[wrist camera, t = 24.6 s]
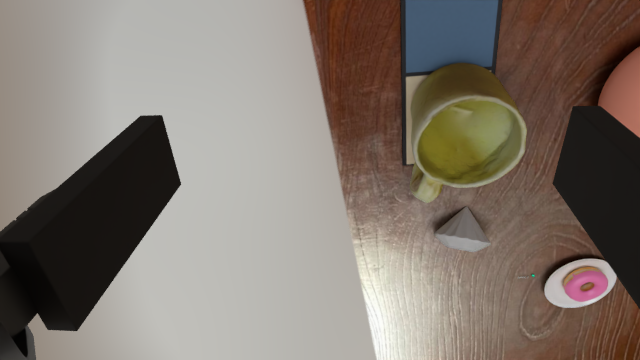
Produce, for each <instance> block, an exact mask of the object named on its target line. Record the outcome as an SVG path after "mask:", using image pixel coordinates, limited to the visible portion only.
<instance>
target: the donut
mask: <svg viewBox="0 0 640 360" xmlns="http://www.w3.org/2000/svg"><path fill="white" fill-rule="evenodd" d="M534 276H535V275H534V274H532V277H534ZM522 277H523V276H522ZM524 277H525V276H524ZM527 277H528V276H527ZM520 278H521V277H520ZM525 278H526V277H525ZM528 278H529V277H528ZM518 279H519V277H518ZM615 281H616V274H615V273H614V271H613V270H612V268H611V267H610V265H609V264H608V263H607V262H606V261H604V260H600V259H581V260H577V261H574V262H571V263H568V264H566V265H564V266H562V267H561V268H559V269H558V270H556V271H555V272H554V273H553V274H552V275H551V276H550V277H549V279H548V280H547V282H546V284H545V288H544V292H545V296H546V298H547V299H548V300H549V301H550V302H551V303H552V304H554V305H556V306H559V307H564V308H576V307H581V306H585V305H589V304H591V303H593V302H596V301H598V300H599V299H601V298H602V297H604V296H605V295H606V294H607V293H608V292H609V291H610V290H611V289H612V288H613V286H614V284H615Z"/></svg>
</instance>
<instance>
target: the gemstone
mask: <svg viewBox="0 0 640 360" xmlns="http://www.w3.org/2000/svg"><path fill="white" fill-rule="evenodd" d="M434 235H435V237H436V238H437V239H438V240H439V241H440V242H441V243H442V244H444V245H445V246H446V247H448V248H453V249H458V250H464V251H470V252H476V251H479V250H481V249H483V248H485V247H488V246H489V245H491V243H490V241H489V240H488V238H487V237H486V235H485V234H484V232H483V231H482V229H481V227H480V226H479V224H478V223H477V221H476V220H475V218H474V216H473V215H472V213H471V212H470V210H469V209H468V207H467V206H466V207H465V208H464V209H462V210H461V211H460V212H459V213H458V214H456V215H455V216H454V217H453V218H452V219H450V220H449V221H448V222H447V223H446V224H444V225H443V226H442V227H441V228H440V229H438V230H437V231H436V232H435V233H434Z"/></svg>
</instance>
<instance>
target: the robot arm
mask: <svg viewBox="0 0 640 360" xmlns="http://www.w3.org/2000/svg"><path fill="white" fill-rule="evenodd" d="M180 185H181V182H180V179H179V175H178V171H177V168H176V164H175V160H174V157H173V153H172V150H171V146H170V143H169V139H168V135H167V132H166V128H165V124H164V121H163V117H162V116H161V115H157V116H156V115H154V116H140V117H139V118H138V119H137V120H135V121H134V122H133V123H132V124H131V125H129V126H128V127H127V128H126V129H125V130H124V131H123V132H121V133H120V134H119V135H118V136H117V137H116V138H114V139H113V140H112V141H111V142H110V143H109V144H108V145H106V146H105V147H104V148H103V149H102V150H101V151H99V152H98V153H97V154H96V155H95V156H94V157H92V158H91V159H90V160H89V161H88V162H87V163H85V164H84V165H83V166H82V167H81V168H80V169H79V170H77V171H76V172H75V173H74V174H73V175H72V176H71V177H69V178H68V179H67V180H66V181H65V182H64V183H62V184H61V185H60V186H59V187H58V188H56V189H55V190H53V191H51V192H49V193H47V194H46V195H44V196H42V197H40V198H39V199H38V200H37V201H36V202H35V203H33V204H32V205H31V206H30V207H29V208H28V210H27V211H24V212H23V213H22V214H21V215H19V216H18V217H17V218H16V219H17V220H16V221H15V220H14V221H12V222H11V223H10V224H9V225H8V226H6V227H5V228H4V229H3V230H2V231H0V360H36V355H35V346H34V338H33V334H32V333H31V331H30V329H29V327H28V326H27V325H28V323H29V322H30V321H31V320H32V319H33V318H34V316H35V315H36V314H37V313H38V314H39V316H40V318H41V319H42V321H43V322H44V324H45V326H46V328H47V329H48V330H65V331H77V330H78V329H79V327H80V326H81V325H82V323H83V322H84V320H85V319H86V317H87V316H88V315H89V313H90V312H91V311H92V309H93V308H94V306H95V305H96V303H97V302H98V300H99V299H100V298H101V296H102V295H103V294H104V292H105V291H106V289H107V288H108V287H109V285H110V284H111V282H112V281H113V279H114V278H115V276H116V275H117V274H118V272H119V271H120V270H121V268H122V267H123V265H124V264H125V262H126V261H127V260H128V258H129V257H130V255H131V254H132V253H133V251H134V250H135V248H136V247H137V245H138V244H139V243H140V241H141V240H142V238H143V237H144V236H145V234H146V233H147V231H148V230H149V229H150V227H151V226H152V224H153V223H154V222H155V220H156V219H157V217H158V216H159V214H160V213H161V212H162V210H163V209H164V207H165V206H166V205H167V203H168V202H169V200H170V199H171V198H172V196H173V195H174V193H175V192H176V190H177V189H178V188H179V186H180ZM553 185H554V186H555V188H556V189H557V190H558V192H559V193H560V195H561V196H562V198H563V199H564V201H565V202H566V203H567V205H568V206H569V208H570V209H571V211H572V212H573V213H574V215H575V216H576V218H577V219H578V221H579V222H580V224H581V225H582V226H583V228H584V229H585V231H586V232H587V234H588V235H589V237H590V238H591V239H592V241H593V242H594V244H595V245H596V247H597V248H598V250H599V251H600V252H601V254H602V255H603V257H604V258H605V260H606V261H607V263H608V264H609V265H610V267H611V268H612V270H613V271H614V273H615V274H616V275H617V277H618V278H619V280H620V281H621V283H622V284H623V286H624V287H625V288H626V290H627V291H628V293H629V294H630V296H631V297H632V299H633V300H634V301H635V303H636V304H637V306H638V307H639V309H640V138H639V137H638V136H637V135H636V134H634V133H633V132H632V131H631V130H629V129H628V128H627V127H626V126H624V125H623V124H622V123H621V122H619V121H618V120H617V119H616V118H615V117H613V116H612V115H611V114H610V113H608V112H607V111H606V110H605V109H603V108H602V107H601V106H573V108H572V112H571V116H570V120H569V124H568V127H567V131H566V135H565V139H564V142H563V146H562V150H561V154H560V158H559V161H558V165H557V169H556V173H555V177H554V180H553Z"/></svg>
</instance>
